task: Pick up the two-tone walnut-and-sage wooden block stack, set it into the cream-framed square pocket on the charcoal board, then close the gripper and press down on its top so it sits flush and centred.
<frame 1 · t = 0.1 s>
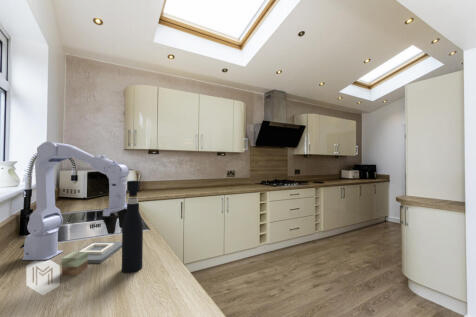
hand: (117, 230, 86), 10 cm above the counter, tool pointing down, fingers open, 7 cm apart
wine bottle: (132, 269, 76), on the counter
block stack: (75, 271, 74), on the counter
pocket board: (97, 252, 89), on the counter
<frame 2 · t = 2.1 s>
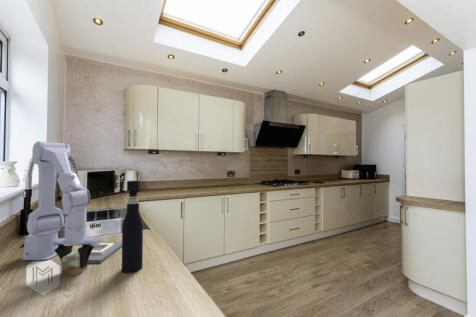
hand: (75, 267, 74), 1 cm above the counter, tool pointing down, fingers closed on block stack, 5 cm apart
block stack: (75, 271, 74), on the counter, touching gripper
everything else where it was.
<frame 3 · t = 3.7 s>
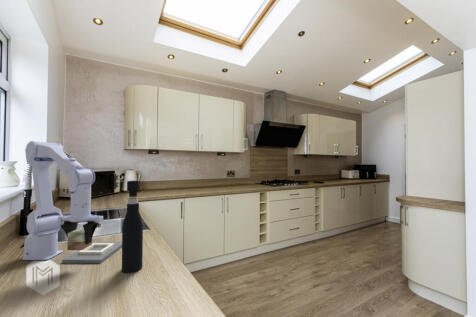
hand: (80, 243, 77), 8 cm above the counter, tool pointing down, fingers closed on block stack, 5 cm apart
block stack: (80, 247, 77), point 7 cm above the counter, touching gripper
everything else where it was.
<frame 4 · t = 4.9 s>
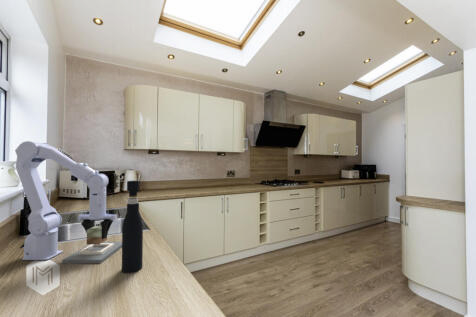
hand: (97, 238, 89), 6 cm above the counter, tool pointing down, fingers closed on block stack, 5 cm apart
block stack: (97, 242, 89), point 4 cm above the counter, touching gripper
everything else where it was.
when the fingers open (4 cm above the counter, at t = 5.7 s): block stack drops 1 cm, resting on pocket board.
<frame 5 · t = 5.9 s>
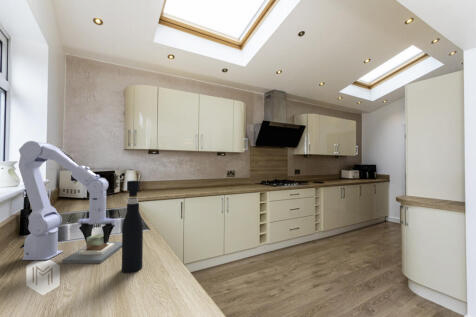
hand: (97, 242, 89), 4 cm above the counter, tool pointing down, fingers open, 6 cm apart
block stack: (96, 249, 89), point 1 cm above the counter, touching pocket board
everything else where it was.
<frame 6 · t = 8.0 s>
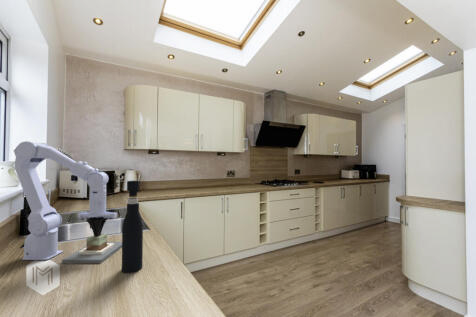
hand: (97, 236, 89), 7 cm above the counter, tool pointing down, fingers closed, pressing on block stack
block stack: (96, 250, 89), point 1 cm above the counter, touching gripper, pocket board
everything else where it was.
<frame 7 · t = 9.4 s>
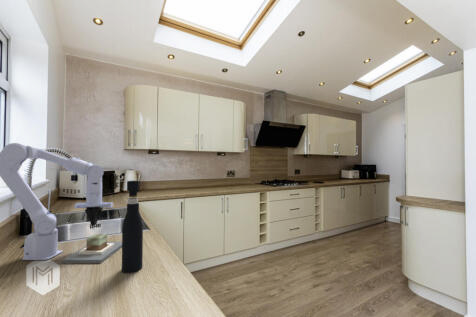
hand: (93, 224, 95), 9 cm above the counter, tool pointing down, fingers closed
block stack: (96, 249, 89), point 1 cm above the counter, touching pocket board
everything else where it was.
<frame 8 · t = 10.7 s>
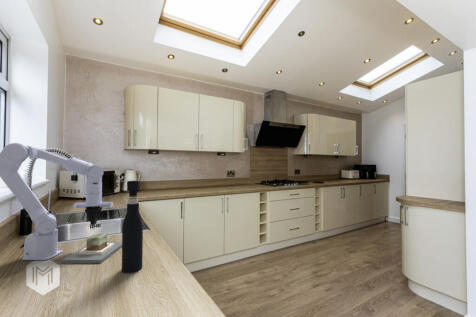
hand: (93, 224, 96), 9 cm above the counter, tool pointing down, fingers closed
nothing on the counter moved.
at the end: block stack 0.2 cm off-centre on the pocket board, point 1.2 cm above the pocket board's base; block stack tilted 0°; the gripper is holding nothing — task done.
